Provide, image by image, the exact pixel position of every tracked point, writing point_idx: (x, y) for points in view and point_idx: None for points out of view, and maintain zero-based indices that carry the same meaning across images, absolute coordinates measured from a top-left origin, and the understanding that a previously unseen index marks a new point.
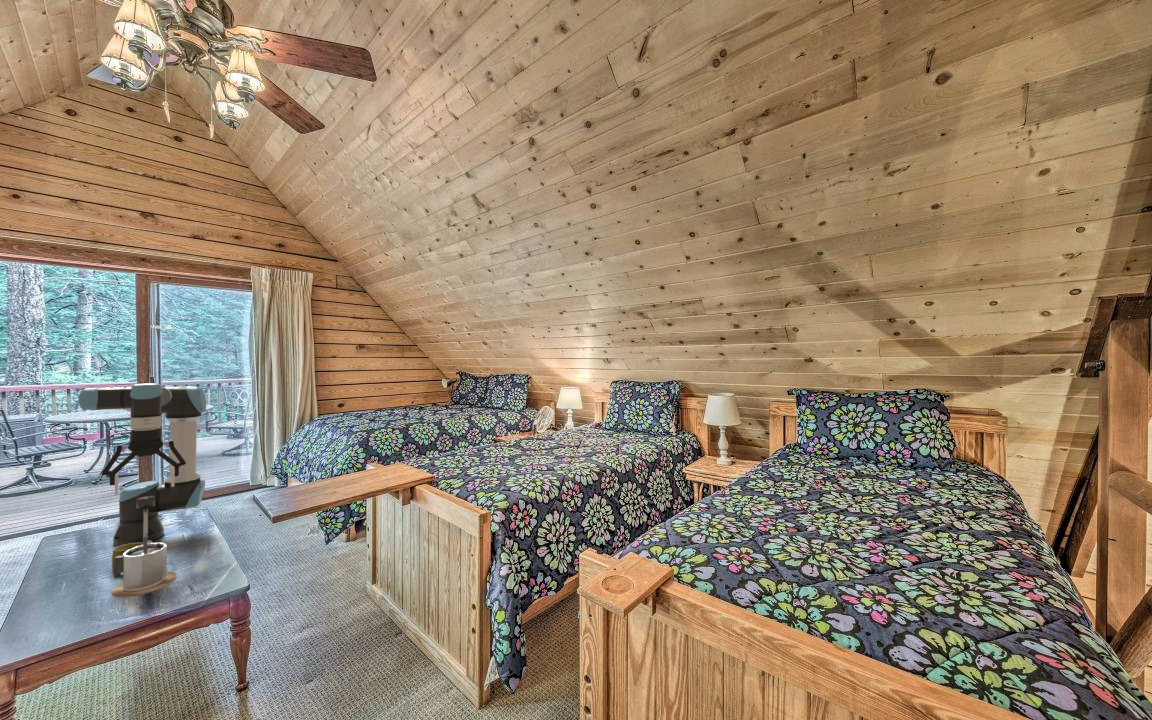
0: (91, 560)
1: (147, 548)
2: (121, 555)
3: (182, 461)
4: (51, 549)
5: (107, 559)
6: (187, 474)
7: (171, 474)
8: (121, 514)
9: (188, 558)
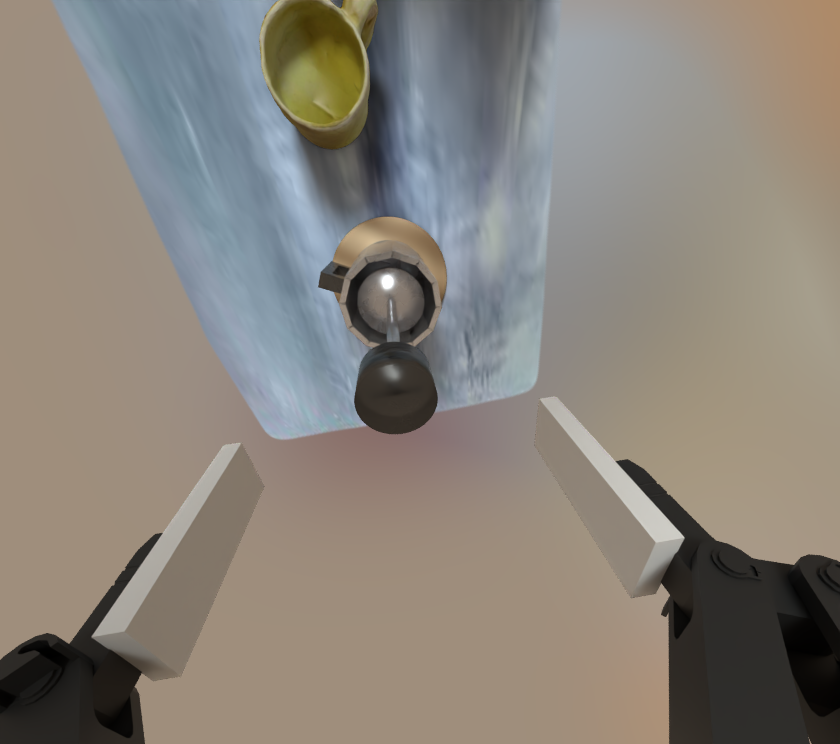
0: None
1: (391, 269)
2: (305, 131)
3: (811, 673)
4: None
5: None
6: None
7: (589, 511)
8: None
9: (472, 143)
